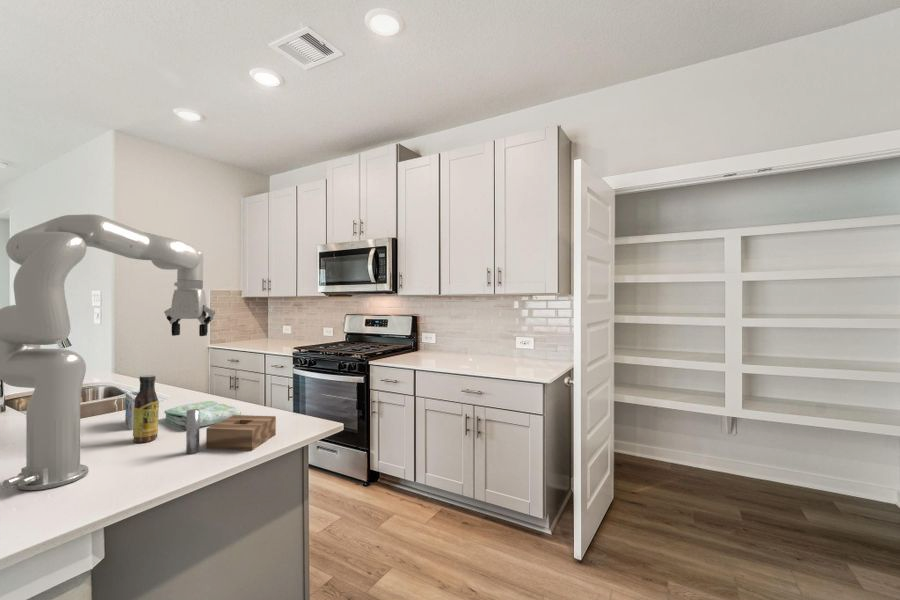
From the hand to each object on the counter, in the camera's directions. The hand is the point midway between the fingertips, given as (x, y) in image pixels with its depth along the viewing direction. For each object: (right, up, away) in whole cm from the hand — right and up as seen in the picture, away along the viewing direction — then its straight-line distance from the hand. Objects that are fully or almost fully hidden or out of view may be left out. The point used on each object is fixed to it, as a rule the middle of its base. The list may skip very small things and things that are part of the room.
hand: (189, 335), depth 144 cm
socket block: (+25, -32, -14) cm, 43 cm away
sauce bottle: (-5, -31, -14) cm, 35 cm away
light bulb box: (-18, -31, +1) cm, 36 cm away
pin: (+16, -32, -24) cm, 42 cm away
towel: (0, -32, +8) cm, 33 cm away
